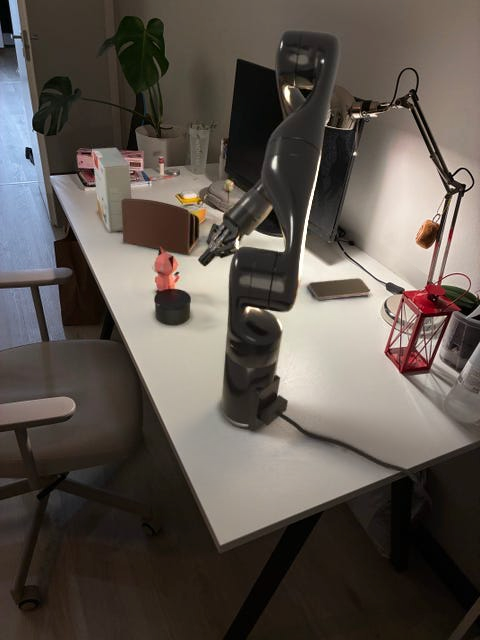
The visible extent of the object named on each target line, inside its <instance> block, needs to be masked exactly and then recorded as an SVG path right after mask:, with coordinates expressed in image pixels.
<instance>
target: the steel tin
mask: <svg viewBox="0 0 480 640" xmlns="http://www.w3.org/2000/svg"><path fill="white" fill-rule="evenodd" d="M153 298H154V299H153V301H154V314H155V315H154V316H155V319H156V321H158V323H160V324H162V325H166V326H181V325H184V324H185V323H187V322H188V321H189V320H190V317H191V302H192V296H191V295H190V293H189V292H187V291H186V290H184V289H180V288H174V289H165V290H162V291H160V292H158V293H155V295H154V297H153Z"/></svg>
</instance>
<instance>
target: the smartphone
mask: <svg viewBox="0 0 480 640" xmlns="http://www.w3.org/2000/svg"><path fill="white" fill-rule="evenodd" d="M308 288H309V289H310V291H311V292H312V294H313V296H314V297H315V298H316V299H317V300H327V299H340V298H350V297H359V296H368V295H370V294H371V289H370V288H369V286H368V285H367V284H366V283H365V281H364V280H363V279H362V278H357V277H356V278H346V279H345V278H344V279H335V280H321V281H312V282H309V284H308Z"/></svg>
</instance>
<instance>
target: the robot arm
mask: <svg viewBox="0 0 480 640" xmlns="http://www.w3.org/2000/svg"><path fill="white" fill-rule="evenodd" d="M341 52H342V48H341V41H340V38H339V37H338V36H337V35H336V34H334V33H331V32H327V31H319V30H309V29H301V28H300V29H297V28H292V29H290V28H289V29H286V30H285V31H283V32H282V33H281V35H280V37H279V39H278V44H277V47H276V53H275V66H274V69H275V70H274V71H275V79H276V87H277V91H278V97H279V98H278V99H279V103H280V107H281V111H282V118H283V121H282V122H281V123H280V124H278V126H277V127H276V128H275V129H274V131H272V133H271V135H270V136H269V138H268V139H267V143H266V147H265V153H264V157H263V161H262V166H261V171H260V178H259V180H258V181H257V182H256V183H255V184H254V185H253V186H252V187H251V188H250V189H249V190H247V192H245V193H244V194H243V195H242V196H241V197H240V198H239V200H238V201H237V202H235V203H236V204H235V203H234V204H235V205H234V206H233V207H232V208H231V209H230V211H229V212H228V213H227V214H226V216H227V217H228V219H227V220H225V221H223V220H222V222H221V223H220V224H217V223H215V222H213V223H212V225H211V227H210V229H209V233H208V235H207V239H206V241H205V243H206V244H207V246H206V249H205V250H204V251H203V252H202V253H201V254H200V256H199V257H198V259H197V261H198V262H199V264H200V265H202V266H203V267H207V266H208V265H210V263H211V262H213V260H214V259H215V258H220V259H224V258H226V257H230V256H232V258H231V260H230V265H229V271H228V306H227V307H228V309H227V310H228V311H227V325H226V327H227V328H226V340H225V351H224V362H223V363H224V364H223V365H224V366H223V379H222V391H221V393H222V394H221V401H220V413H221V415H222V417H223V418H224V419H225V420H226V422H228V423H229V424H231V425H233V426H235V427H237V428H242V429H243V428H244V429H249V430H251V431H252V432H254V431H256V430H257V429H258V428H260V427H261V426H262V425H265V426H269V425H270V424H272V422H274V421H275V420H277V419H278V417H279V418H281V419H282V420H284V421H285V422H287V423H289V424H290V425H291V426H293V427H294V428H295V429H296V430H297V431H299V433H300V434H301V433H302V434H303V435H304V436H307V437H309V438H312V439H315V440H319V441H322V442H326V443H330V444H334V445H337V446H339V447H342V448H344V449H347V450H349V451H350V452H351V451H352V452H354V453H355V454H357V455H359V456H361V457H363V458H365V459H367V460H369V461H371V462H373V463H375V464H377V465H379V466H382V467H384V468H387V469H390V470H394V471H398V472H400V473H403V474H404V475H406V476H408V477H409V478H410V479H411V481H412V482H414V483H418V482H419V481H418V480H419V479H417V477H416V475H415V474H414V473H412V472H411V471H410V470H409V469H406V468H405V467H402V466H399V465H397V464H396V465H395V464H392V463H388V462H385V461H383V460H380V459H378V458H376V457H374V456H372V455H370V454H368V453H366V452H364V451H363V450H360V449H358V448H356V447H354V446H352V445H350V444H348V443H347V442H346V443H345V442H343V441H340V440H337V439H334V438H331V437H326V436H323V435H319V434H316V433H313V432H311V431H308V430H306V429H305V428H303V427H302V426H301V425H300V424H298V423H297V422H296V421H294V420H293V419H291V418H290V417H288V416H287V415H285V414H284V413H285V412H286V411H287V407H288V402H289V400H288V399H287V398H285V397H283V396H281V394H279V389H280V382H281V376H280V375H278V374H277V370H278V365H279V364H278V363H279V357H280V353H281V346H282V339H283V331H284V330H283V326H282V325H283V324H282V323H281V321H280V320H279V318H278V317H277V316H275V315H274V314H273V313H271V312H276V313H289V312H291V311H292V310H293V308H294V307H295V306H296V303H297V301H298V300H297V299H298V296H299V290H300V286H301V279H302V272H303V264H304V256H305V248H306V239H307V230H308V223H309V217H310V212H311V207H312V202H313V199H314V193H315V189H316V184H317V179H318V175H319V171H320V166H321V158H322V149H323V143H324V136H325V130H326V122H327V117H328V112H329V108H330V105H331V101H332V95H333V93H334V92H333V91H334V89H335V83H336V80H337V76H338V71H339V67H340V61H341V54H342V53H341ZM300 89H302V90H308V91H309V90H310V92H309V94H308V95H307V97H306V98H305V97H304V95H303V94H302V92H301V90H300ZM272 210H273V212H274V213H275V217H276V218H277V221H278V224H279V228H280V230H281V233H282V238H283V246H284V251H278V250H273V249H266V248H259V247H253V246H246V245H245V246H240V247H239V243H240V242H241V241H242V240H243V238H244V236H250V235H251V234H252V233H253V232H254V231H255V230H256V229H257V228H258V226H259V225H260V224H261V223H262V222H264V220H265V219H266V218H267V217H268V216H269V215H270V213H271V212H272ZM224 245H225V246H224ZM278 394H279V395H278Z"/></svg>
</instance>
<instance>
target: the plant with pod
mask: <svg viewBox="0 0 480 640" xmlns="http://www.w3.org/2000/svg"><path fill="white" fill-rule="evenodd" d="M221 190H222V192H221V195H222V196H223V195H224V193H227V202H226V207H225V209H224V212H223V214H222V222H223V221H225V220H227V219H228V217H227V216H226V214H227V213H228V212H229V211H230V209H231V208H232V207H233V206H234V205H235V204H236V203H237V202H235V203H231V204H230V195H231V194H232V192H233V190H234V182H233V181H232V180H230V179H225V180H224V182H223V185H222V188H221ZM230 193H231V194H230ZM224 246H225V245H224Z"/></svg>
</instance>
